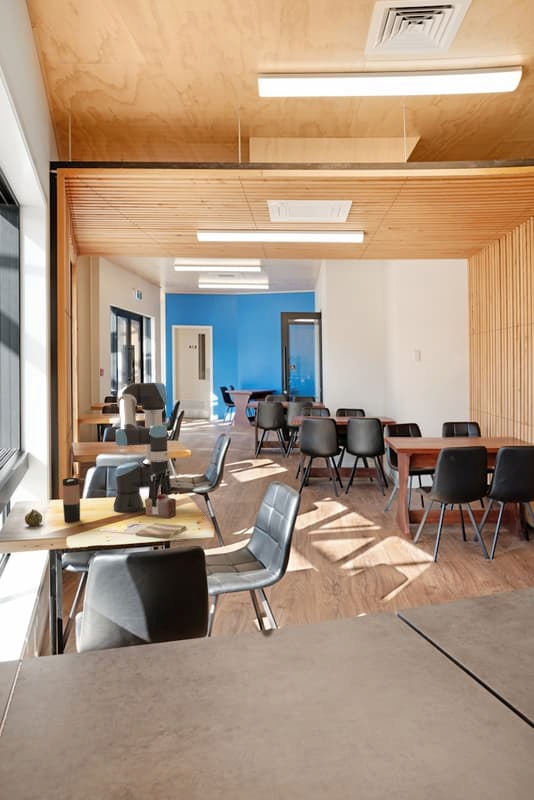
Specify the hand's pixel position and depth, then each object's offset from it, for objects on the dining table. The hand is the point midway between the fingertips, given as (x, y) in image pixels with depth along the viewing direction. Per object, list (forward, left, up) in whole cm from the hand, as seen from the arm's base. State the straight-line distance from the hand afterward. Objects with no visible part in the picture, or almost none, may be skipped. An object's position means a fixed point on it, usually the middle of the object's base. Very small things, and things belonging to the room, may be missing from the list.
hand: (160, 511), depth 262 cm
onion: (+8, -63, -9) cm, 64 cm away
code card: (-1, -19, -9) cm, 21 cm away
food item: (0, 0, -2) cm, 2 cm away
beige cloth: (0, 0, -9) cm, 9 cm away
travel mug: (-4, -51, -9) cm, 52 cm away
